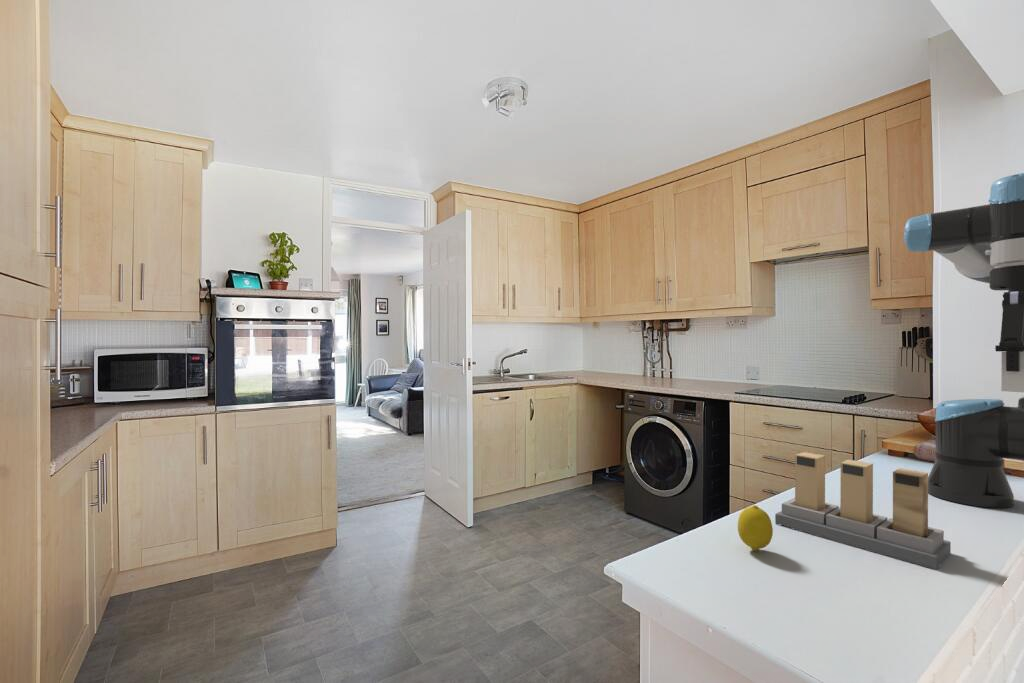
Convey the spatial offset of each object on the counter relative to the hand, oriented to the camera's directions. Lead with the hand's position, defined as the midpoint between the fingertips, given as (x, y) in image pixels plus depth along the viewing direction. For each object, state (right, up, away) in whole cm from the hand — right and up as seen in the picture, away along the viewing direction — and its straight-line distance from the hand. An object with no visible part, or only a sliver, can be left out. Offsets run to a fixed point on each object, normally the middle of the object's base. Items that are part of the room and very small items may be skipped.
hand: (1019, 389), depth 84 cm
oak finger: (-18, -27, +1) cm, 32 cm away
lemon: (-45, -29, +2) cm, 53 cm away
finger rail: (-23, -29, +8) cm, 37 cm away
